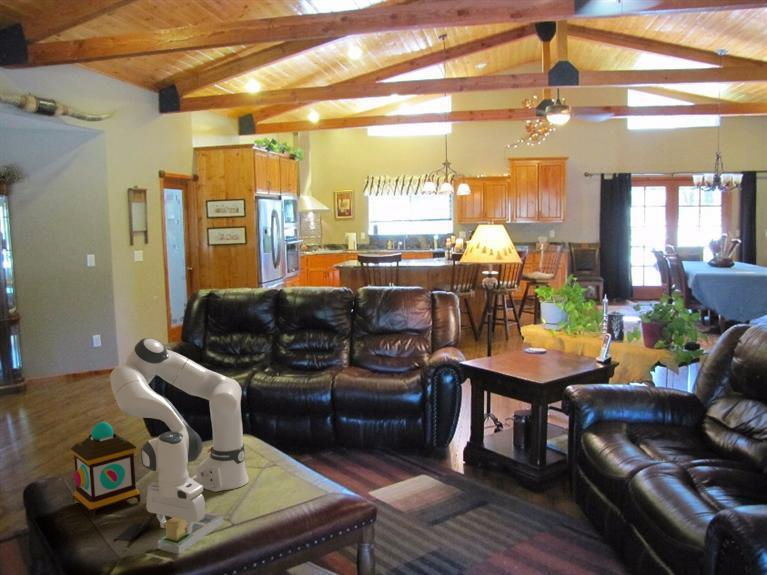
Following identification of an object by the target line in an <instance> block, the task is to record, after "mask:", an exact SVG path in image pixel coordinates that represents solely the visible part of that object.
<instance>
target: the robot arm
mask: <svg viewBox="0 0 767 575" xmlns="http://www.w3.org/2000/svg"><path fill="white" fill-rule="evenodd" d="M155 376H158V377H160V378H161V379H163V381H165V382H167V383H168V384H170V385H172V386H174V387H175V388H178V389H179V390H181V391H183V392H185V393H187V394H188V395H191V396H194V397H199V398H202V399H205V400H207V401H208V402H209V412H210V421H211V428H212V446H211V447H210V448H209V449H207V453H209V456H208V457H207V458H205V459H204V460H203V461H201V463H200V464H198V465H197V468H196V474H195V475H194V476H192V477H190V476H189V471H188V463H192V462H195V461H197V459H198V458H199V456H200V455H201V453H202V451H203V449H204V448H203V441H202V438H201V436H200V435H199V433H198V432H196V431H195V430H194V429H193V428H192V427H191V426H190V425H189V424H188V422H187V421H186V419H184V417H183V416H182V415H181V413H180V412H179V411H178V409H177V408H176V407H175V406H174V405H173V403H172V402H171V401H170V400H169V399H168V398H167V397H165V396H163V395H160V394H158V393H157V392H155V391H154V390H153V389H152V388H151V386H150V385H149V384H150V383H151V382H152V380H153V379H154V377H155ZM109 381H110V386H111V390H112V393H113V397H114V399H115V400H116V401H115V402H116V403H117V405H118V408H119V410H121V411H122V412H123V413H124V414H125V415H126V416H130V417H131V418H143V419H144V418H149V419H156V420H160V421H162V422H164V423H165V424H166V426H167V427H168V428H169V430H170V431H167V432H162V433H161V434H160V435H158V437H156V438H152V439H149V440H146V442H144V444H143V446H142V448H141V449H140V455H141V457H140V458H141V463H142V466H143V467H144V468H146V469H148V470H149V471H152V472H157V473H158V477H157V480H158V482H155V481H152V482H150V483H149V484H148V485H147V494H146V505H145V506H146V510H147V512H148V513H151V514H157V515H156V518H157V520H158V521H159V523H160V524H159V525H160V528H163V529H166V524H165V522H167V521H168V520H169V519H168V520H167V518H166V517H169V518H173V517H174V518H178V519H183V520H186V523H188V526H187V527H185V533H189V534H190V533H191V532H192V526H193V524H194V522H198V521H200V520H201V519H203V518H204V516H205V512H206V503H205V502H206V501H205V497H204V495H203V494H202V492H204V489H205V490H208V491H210V492H215V493H217V492H221V491H226V490H228V491H229V490H234V489H237V488H240V487H243V486H245V485H247V483H249V481H250V479H249V476H248V472H247V467H246V463H245V456H246V455H245V444H244V440H243V439H244V436H243V432H244V431H243V421H242V410H241V409H242V408H241V400H242V393H243V392H242V387H241V385H240V384H239V382H238V381H237V380H236V379H234V378H231V377H228V376H225V375H223V374H220V373H218V372H215V371H213V370H210V369H208V368H206V367H204V366H203V365H201V364H199V363H197V362H195V361H194V360H192V359H189V357H186V356H184V355H181V354H180V353H178V352H175V351H173V350H170V349H167V348H166V346H164V344H163V343H162V342H161V341H159V340H158V339H156V338H152V337H146V338H141V339H140V340H139V341H138V342H137V343H136V344H135V346H134V348H133V350H131V351H130V354H129V355H128V357H127V358H126V361H125V363H121V364H119V365H116V367H115V368H113V370H112V371H111V373H110V375H109Z"/></svg>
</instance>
